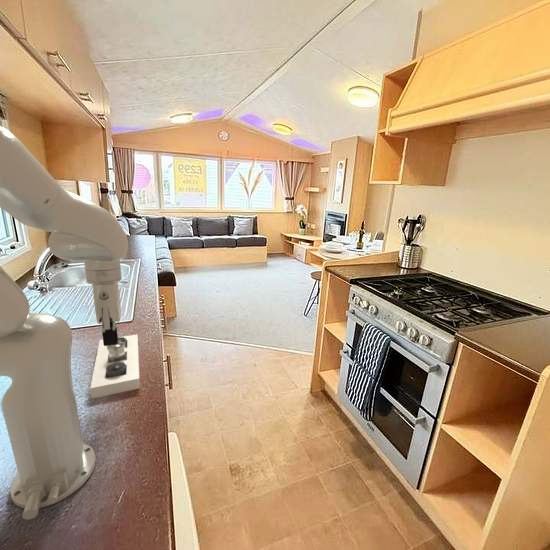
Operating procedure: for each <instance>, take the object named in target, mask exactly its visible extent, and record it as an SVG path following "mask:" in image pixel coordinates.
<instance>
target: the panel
mask: <svg viewBox="0 0 550 550" xmlns="http://www.w3.org/2000/svg"><path fill="white" fill-rule="evenodd" d="M122 337H124V338H126V348H124V350H125V358H124V359H123V360H120V361H116V362H123V363H125V375H121V376H116V377H111V378H108V373H107V372H106V367H107V366H108V365H109V364H112V363H115V362H113V361H110V358H109V351H108V350H107V346H104V344H103V339H99V342H98V343H99V344H98V348H97V352H96V357H95V358H96V359H95V362H94V368H93V372H92V377H91V382H90V388H89V390H90V396H91V399H95V398H101V397H106V396H111V395H115V394H120V393H124V392H129V391H134V390H138V389H141V379H140V378H141V377H140V351H139V336H138V334H131V335H124V336H122Z"/></svg>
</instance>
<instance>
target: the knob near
mask: <svg viewBox="0 0 550 550" xmlns="http://www.w3.org/2000/svg"><path fill="white" fill-rule="evenodd" d="M106 372H107V373H108V378H111V377H116V376H121V375H126V374H125V363H123V362H115V363H112V364H109V365H108V366H107V367H106Z"/></svg>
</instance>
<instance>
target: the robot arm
mask: <svg viewBox="0 0 550 550" xmlns="http://www.w3.org/2000/svg"><path fill="white" fill-rule="evenodd" d="M0 208H1V209H2V210H4V212H6V213H7V214H9V215H10V217H11V216H12V218H14V219H15V220H17V221H18V222H19V223H21V224H23V225H25V226H27V227H30V228H33V229H37V230H41V231H44V232H48V233H50V234H49V237H48V248H49V250H50V253H52V254H53V256H55V257H57V258H59V259H61V260H63V261H64V260H65V261H72V262H74V261H75V262H79V261H80V262H82V261H83V265H84V271H85V280H86V283H87V284H88V285H91V286H92V294H93V303H94V311H95V318H96V322H97V324H99V325H101V327H102V331H101V332H102V340H103V344H104V346H109V345H116V344H118V337H119V336H118V327H117V323H118V322H120V321H121V316H122V306H121V298H120V289H119V283H118V282H120V281H122V279H123V278H122V267H121V259H123V258H124V257H125V256H126V254H127V253H128V250H129V240H128V237H127V234H126V232H125V229H124V228H123V227H122V225H121V224H120V222H119V221H118V219H116V217H115V216H114V215H113V214H112V213H111V212H109V211H108V210H107V209H105V208H103V207H102V206H100V205H99V204H97V203H95V202H92V201H90V200H88V199H86V198H84V197H81V196H80V195H77V194H76V193H73V192H70V191H68V190H66V189H64V188H63V187H62V186H61V185H60V184H59V182H58V181H57V180H56V179H55V178H54V177H53V176H52V175H51V173H49V171H47V169H46V168H45V167H44V166H43V165H42V164H41V162H40V161H38V159H37V158H36V157H35V156H34V155H33V154H32V153H31V151H30V150H29V149H28V148H27V147H26V146H25V145H24V144H23V142H22V141H20V139H18V137H16V136H15V134H13V133H12V132H11V131H10V130H8V129H7V128H5V127H3V126H1V125H0ZM30 310H31V308H30V303H29V300H28V297H27V295H26V294H25V292H24V291H23V289H22V288H21V287H20V286H19V285H18V283H16V281H15V280H14V279H13V278H12V277H11V276H10V275H9V274H8V273H7V272H6V271H5V270H4V269H3V267H2V266H1V265H0V377H8V378H10V379H11V380H12V381H11V384H10V386H9V387H8V388H7V389H6V391H5V393H4V394H3V396H2V399H1V411H2V416H3V418H4V419H3V420H4V422H5V426H6V430H7V435H8V438H9V443H10V446H11V450H12V453H13V457H14V458H13V459H14V461H15V466H16V469H17V472H16V475H15V476H14V478H13V479H12V482H11V484H10V488H9V493H10V498H11V500H12V502H13V504H15V505H16V506H17V507H19V508H21V509H23V512H22V515H21V516H22V518H23V519H24V520H32V519H34V518H36V517H37V516H38V514H39V511H40V508H45V507H48V506H51V505H53V504H56V503H58V502H60V501H62V500H65V499H66V498H67V497H69V496H71V495H72V494H73V493H74V492H76V491H78V489H80V488H81V487H82V486H83V485H84V484H85V483H86V482H87V480H88V479H89V478H90V476H91V475H92V473H93V472H94V469H95V466H96V460H97V459H96V454H95V450H94V449H93V447H92V446H90V445H88V444H87V443H85V442H84V440H83V434H82V428H81V424H80V416H79V411H78V405H77V400H76V395H75V393H76V392H75V389H74V383H73V377H72V376H73V375H72V374H73V373H72V349H73V347H72V346H73V345H72V344H73V333H72V329H71V326H70V325H69V323H68V322H67V321H66V320H65V319H63V318H61V317H59V316H56V315H53V314H48V313H43V312H42V313H41V312H40V313H39V312H30ZM116 322H117V323H116Z"/></svg>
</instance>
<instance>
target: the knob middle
mask: <svg viewBox="0 0 550 550" xmlns="http://www.w3.org/2000/svg"><path fill="white" fill-rule="evenodd" d="M124 347H125V343H124V342H118V344H116V345H109V346H107V350H108V351H109V358H110V361H113V362H116V361H120V360H123V359H124V358H125V350H124Z"/></svg>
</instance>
